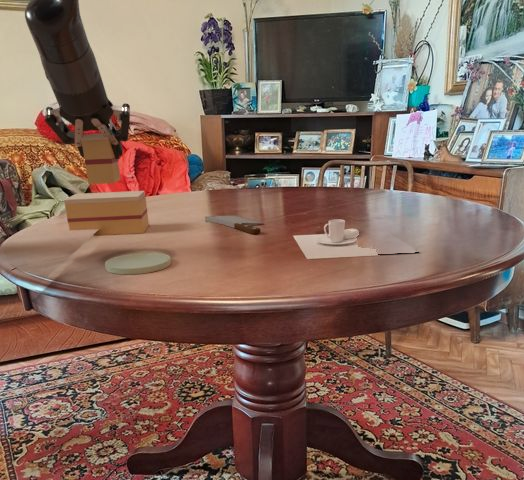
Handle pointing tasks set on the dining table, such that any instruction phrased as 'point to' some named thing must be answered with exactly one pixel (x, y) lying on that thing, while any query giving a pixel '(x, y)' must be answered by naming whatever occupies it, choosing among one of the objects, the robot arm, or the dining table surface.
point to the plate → (138, 263)
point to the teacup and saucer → (333, 243)
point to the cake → (108, 212)
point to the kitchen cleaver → (236, 223)
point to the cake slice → (99, 159)
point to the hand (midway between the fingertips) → (103, 155)
